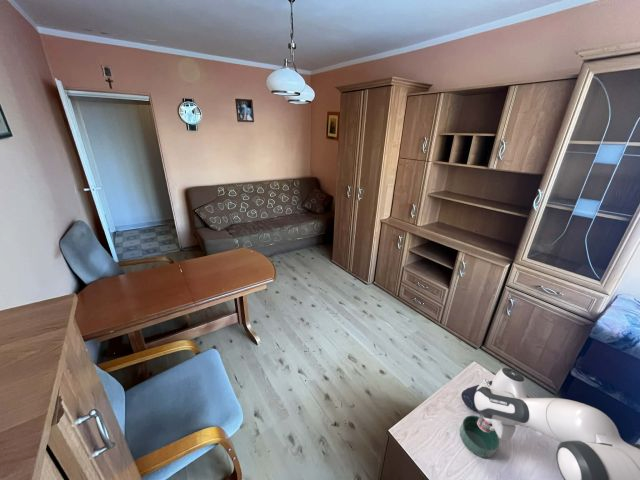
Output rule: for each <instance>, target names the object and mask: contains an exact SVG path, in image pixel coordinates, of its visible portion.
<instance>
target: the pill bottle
mask: <svg viewBox="0 0 640 480" xmlns="http://www.w3.org/2000/svg"><path fill="white" fill-rule="evenodd" d="M478 417H479V419H478V421H477V424H478V426H479V428H480V429H481V430H482V431H484V432H490V429H489V427H488V426H489V424H490V425H492V423H491V421H490V419H488V418H484V417H483V416H482V415H481V414H480V416H478Z"/></svg>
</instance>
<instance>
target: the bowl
mask: <svg viewBox="0 0 640 480" xmlns="http://www.w3.org/2000/svg"><path fill="white" fill-rule="evenodd" d="M479 417H480V416H477V415H467V416H466V417H465V418H464V419H463V421H462V423H461V424H460V427H459V431H458V432H459V437H460V439H461V442H462V443H463V445H464V446H465V447H466V449H468V450H469V451H470V452H471V453H473V454H474V455H475V456H477V457H480V458H486V459H488V458H491V457H492V456H494V454H495V452H496V451H497V449H498V448H499V445H500V440H499V439H500V438H499V437H498V435H497V433H496V431H490V432H484V431H482V430H481V429H480V428H479V426H478V424H477V421H478V419H479Z"/></svg>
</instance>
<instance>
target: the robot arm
mask: <svg viewBox="0 0 640 480" xmlns="http://www.w3.org/2000/svg"><path fill="white" fill-rule="evenodd" d="M489 381H490V380H488V379H486V378H484V379H482V382H481V383H479V384H478V385H479V386H478V388H477V391H476V392H475V394H474V404H475V407H476V409H477V410H478V411H477V412H478V413H479V414H480V415H482V416H483V417H484V418H488V419H490V421H491V423H492V425H490V424H489V426H488V427H489V429H490V431H496V433H497V435H498V438H499V439H500V440H502V441H503V440H504V441H510V440H511V439H512V437H513V436H514V434H515V432H516V427H517V426H519V427H523V428H529V429H531V430H534V431H535V432H538V433H540V434H542V435H543V436H546V437H548V438H550V439H552V440H555V441H557V442H559V444H558V446H557V449H556V453H555V459H556V465H557V467H558V471H559V473H560V475H561V477H562V479H563V480H640V444H639V443H633V444H632V443H631V444H629V443H628V442H626V441H624V440H623V439H622V437H621V435H620V433H619V430H618V428H617V425H616V424H615V422H614V421H613V420H612V419H611V418H610V417H609V416H608V415H607V414H606V413H604V412H603V411H601V410H600V409H598V408H596V407H594V406H591V405H589V404H586V403H582V402H579V401H576V400H573V399H572V400H571V399H567V398H561V397H529V396H528V394H527V391H526V380H525V377H524V375H522V374H521V373H520V372H519V371H517V370H515V369H513V368H510V367H502V368H500V369H499V370H498V371H497V372H496V374H495V375H494V377H493V379H492V380H491V381H492V385H490V383H489Z"/></svg>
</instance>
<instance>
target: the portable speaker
mask: <svg viewBox="0 0 640 480" xmlns="http://www.w3.org/2000/svg"><path fill="white" fill-rule="evenodd" d="M488 381H489V383H490V385H492V381H493V380H488ZM479 385H480V384H475V385H473V386H470V387H467V388H465V389H464V390H462V392H461V394H460V395H461V399H462V401H463V404H464V405H465V406H466V407H467V408H468V409H469V410H471V411H475V412H478V410H477V409H476V407H475V404H474V394H475V392H476V391H477V388H478V386H479Z"/></svg>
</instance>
